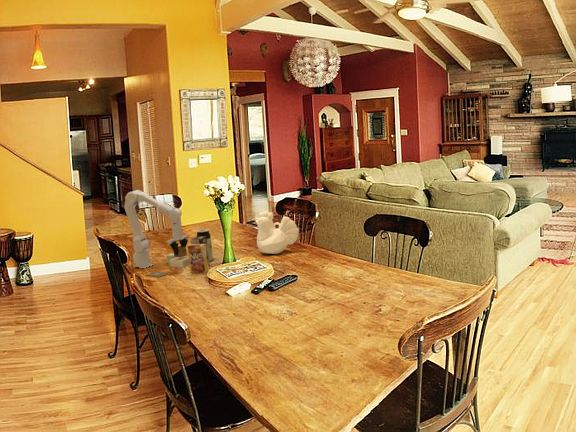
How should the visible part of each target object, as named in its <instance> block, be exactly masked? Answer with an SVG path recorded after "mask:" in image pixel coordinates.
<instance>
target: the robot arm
mask: <svg viewBox="0 0 576 432" xmlns="http://www.w3.org/2000/svg"><path fill="white" fill-rule="evenodd" d="M124 199H125V201H124V210H125V214H126V218H127V219H128V223H129V226H130V229H131V232H132V235H133V240H132V243H133V244H132V245H133V246H132V247H133V250H134V253H133V254H132V260H133V266H137V267H139V268H138V269H142V268H144V269H147V268H150V267H153V266H154V265H155V264H154V263H151V257H150V256H151V255H150V249H149V248H150V244H151V242H150V241H149V240H148V238H147V236H146V235H145V234H144V232H143V229H142V226H141V223H140V220H139V217H138V214H137V211H136V207H137V205H138V204H139V203H142V202H145V203H147V204H149V205H151V206H153V207H154V208H157V211H158V212H160V213H162V214H163V215H165V216H166V217H168V219H170V225H171V226H170V227H171V232H172V233H171V234H172V238H171V239H168V240H167V245H169V246H170V247H171V249H172V251H173V253H174V254H175V255H178V247H179V244H180V246H183V247H186V248H187V246H188V245H187V244H188V243H189V238H190V235H189V234H185V235H184V231H183V224H182V223H183V222H182V218H181V217H182V210H181V209H180V208H177V207H175V206H171V205H169V204H168V202H166V201H165V202H164V201H162V202H160V201H158V200H157V199H155V198H154V197H152V196H151V195H149V194H147V193H146V192H144V191H142V190H140V189H136V190H133V191H129V192H128V193H127V194H126V196H125V197H124ZM152 265H153V266H152ZM149 266H150V267H149ZM146 267H147V268H146Z"/></svg>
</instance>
